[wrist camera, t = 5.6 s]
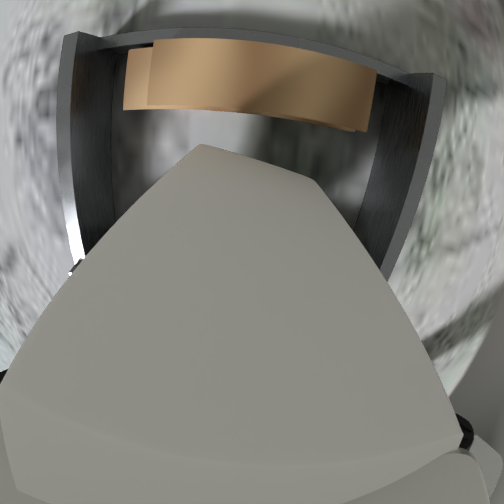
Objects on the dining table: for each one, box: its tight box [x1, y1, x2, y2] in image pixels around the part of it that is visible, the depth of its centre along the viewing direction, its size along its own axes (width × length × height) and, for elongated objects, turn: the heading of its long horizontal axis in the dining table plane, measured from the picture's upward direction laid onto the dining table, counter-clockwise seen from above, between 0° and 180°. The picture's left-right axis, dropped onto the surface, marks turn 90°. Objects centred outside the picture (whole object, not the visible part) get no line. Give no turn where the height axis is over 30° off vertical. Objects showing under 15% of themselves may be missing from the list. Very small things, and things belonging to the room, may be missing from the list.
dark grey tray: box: [56, 28, 447, 281], centre depth 17 cm, size 24×18×7 cm
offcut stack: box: [123, 38, 377, 132], centre depth 15 cm, size 16×5×5 cm, turn 83°
